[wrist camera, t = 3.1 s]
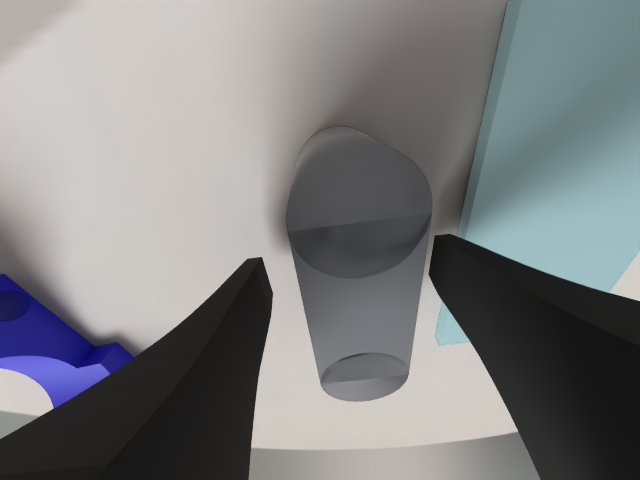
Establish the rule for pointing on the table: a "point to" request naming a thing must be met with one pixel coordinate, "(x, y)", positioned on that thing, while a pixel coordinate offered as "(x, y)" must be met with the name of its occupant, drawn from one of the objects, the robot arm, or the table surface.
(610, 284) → the rubber mat
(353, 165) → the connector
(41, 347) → the cable clip
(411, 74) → the table surface
